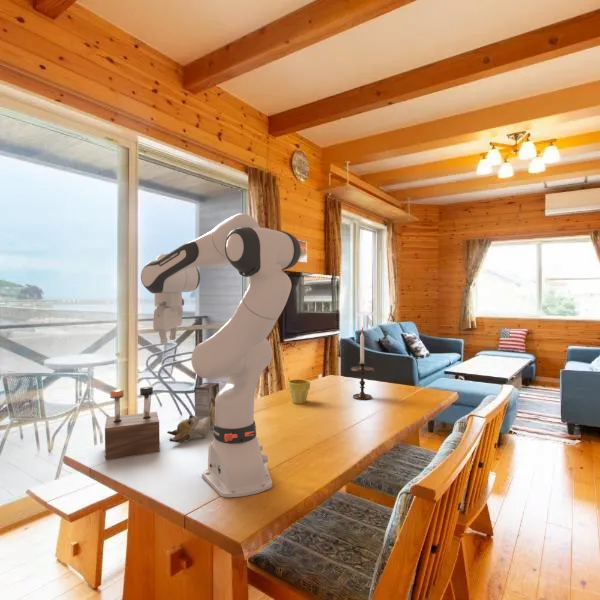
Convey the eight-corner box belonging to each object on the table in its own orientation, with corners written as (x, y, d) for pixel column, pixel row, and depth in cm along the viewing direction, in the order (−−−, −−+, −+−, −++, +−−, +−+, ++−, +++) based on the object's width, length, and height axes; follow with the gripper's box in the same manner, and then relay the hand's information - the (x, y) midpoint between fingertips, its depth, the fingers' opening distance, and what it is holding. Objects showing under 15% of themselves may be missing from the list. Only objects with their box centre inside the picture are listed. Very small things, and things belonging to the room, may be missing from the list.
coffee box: (204, 422, 162) (204, 382, 162) (219, 423, 161) (219, 382, 161) (194, 429, 153) (193, 387, 153) (210, 430, 152) (209, 388, 152)
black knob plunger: (153, 427, 135) (153, 388, 135) (140, 429, 133) (140, 389, 133) (152, 423, 139) (152, 386, 138) (140, 425, 137) (139, 387, 137)
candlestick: (357, 393, 205) (357, 324, 204) (377, 396, 199) (377, 325, 198) (347, 398, 196) (346, 326, 196) (367, 401, 190) (367, 327, 189)
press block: (159, 451, 132) (159, 421, 132) (105, 460, 126) (104, 428, 125) (157, 439, 143) (156, 411, 143) (106, 446, 137) (106, 417, 136)
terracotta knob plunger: (124, 431, 131) (123, 391, 131) (110, 433, 130) (110, 392, 130) (124, 427, 135) (123, 388, 135) (111, 429, 133) (110, 390, 133)
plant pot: (314, 400, 192) (314, 380, 192) (302, 406, 184) (302, 384, 183) (295, 398, 198) (295, 378, 198) (283, 402, 189) (283, 382, 189)
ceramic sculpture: (213, 416, 141) (168, 424, 136) (214, 440, 142) (170, 449, 136) (207, 408, 151) (165, 415, 145) (209, 431, 152) (167, 439, 146)
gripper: (167, 302, 128) (168, 346, 129) (185, 300, 149) (185, 337, 149) (148, 302, 128) (148, 346, 129) (168, 300, 148) (168, 337, 149)
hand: (168, 341), depth 139 cm, fingers open, 8 cm apart
